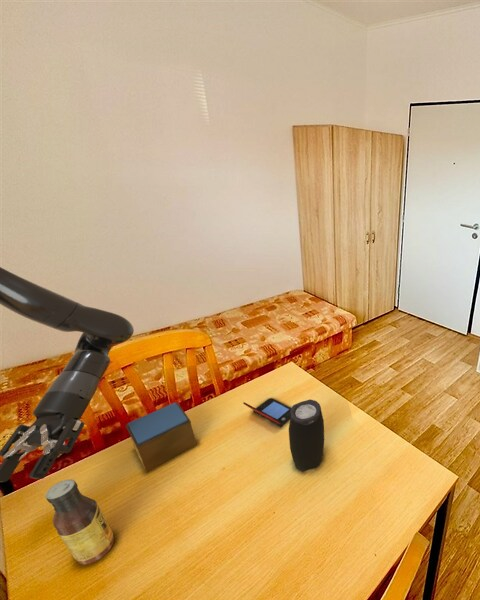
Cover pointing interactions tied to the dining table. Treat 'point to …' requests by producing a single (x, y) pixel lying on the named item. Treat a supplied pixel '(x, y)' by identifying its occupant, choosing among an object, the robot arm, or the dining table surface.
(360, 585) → the dining table surface
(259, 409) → the handheld console
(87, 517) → the sauce bottle
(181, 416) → the mat
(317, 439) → the portable speaker
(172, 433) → the blue topped brown block
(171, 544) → the dining table surface
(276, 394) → the dining table surface
